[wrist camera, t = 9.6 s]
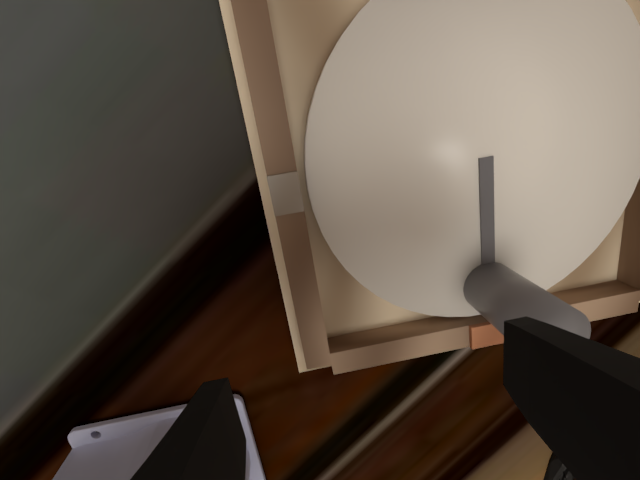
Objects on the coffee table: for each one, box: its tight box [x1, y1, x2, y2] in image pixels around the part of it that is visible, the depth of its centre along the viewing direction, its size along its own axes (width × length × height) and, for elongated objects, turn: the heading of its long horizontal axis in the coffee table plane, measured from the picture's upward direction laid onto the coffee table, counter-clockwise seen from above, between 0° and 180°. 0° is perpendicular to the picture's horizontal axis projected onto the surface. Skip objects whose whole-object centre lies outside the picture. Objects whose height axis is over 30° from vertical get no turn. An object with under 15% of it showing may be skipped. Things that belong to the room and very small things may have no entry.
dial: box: [304, 0, 640, 339], centre depth 13 cm, size 15×15×5 cm
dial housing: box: [219, 0, 640, 375], centre depth 16 cm, size 19×19×3 cm
